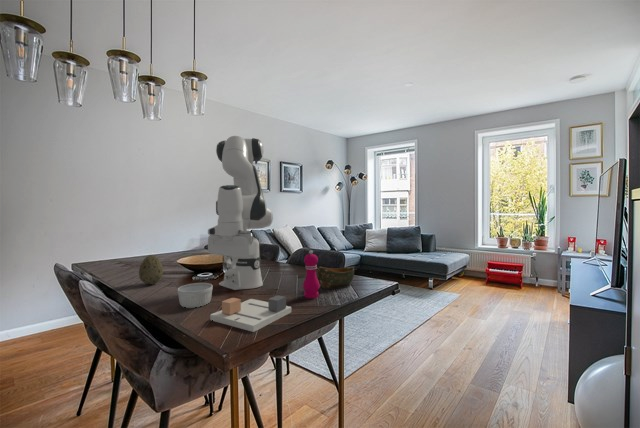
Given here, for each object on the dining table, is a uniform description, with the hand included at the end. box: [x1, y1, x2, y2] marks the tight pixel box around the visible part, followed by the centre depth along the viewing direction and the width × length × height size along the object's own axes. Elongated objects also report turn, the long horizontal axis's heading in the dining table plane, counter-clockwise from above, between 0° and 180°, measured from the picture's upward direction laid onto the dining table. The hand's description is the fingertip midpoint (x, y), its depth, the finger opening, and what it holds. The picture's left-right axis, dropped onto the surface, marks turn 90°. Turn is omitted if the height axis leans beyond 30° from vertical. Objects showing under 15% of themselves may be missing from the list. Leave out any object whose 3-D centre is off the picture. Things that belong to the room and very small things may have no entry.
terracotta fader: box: [221, 297, 242, 315], centre depth 106 cm, size 4×5×4 cm
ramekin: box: [177, 282, 213, 309], centre depth 122 cm, size 13×13×7 cm
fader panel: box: [209, 298, 293, 333], centre depth 107 cm, size 20×20×2 cm
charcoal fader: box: [267, 295, 287, 312], centre depth 108 cm, size 4×5×4 cm
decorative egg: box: [138, 254, 164, 285], centre depth 154 cm, size 11×11×15 cm
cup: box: [316, 266, 355, 290], centre depth 146 cm, size 13×20×10 cm, turn 87°
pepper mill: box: [302, 249, 321, 299], centre depth 130 cm, size 7×7×20 cm
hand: (231, 268), depth 109 cm, fingers closed
